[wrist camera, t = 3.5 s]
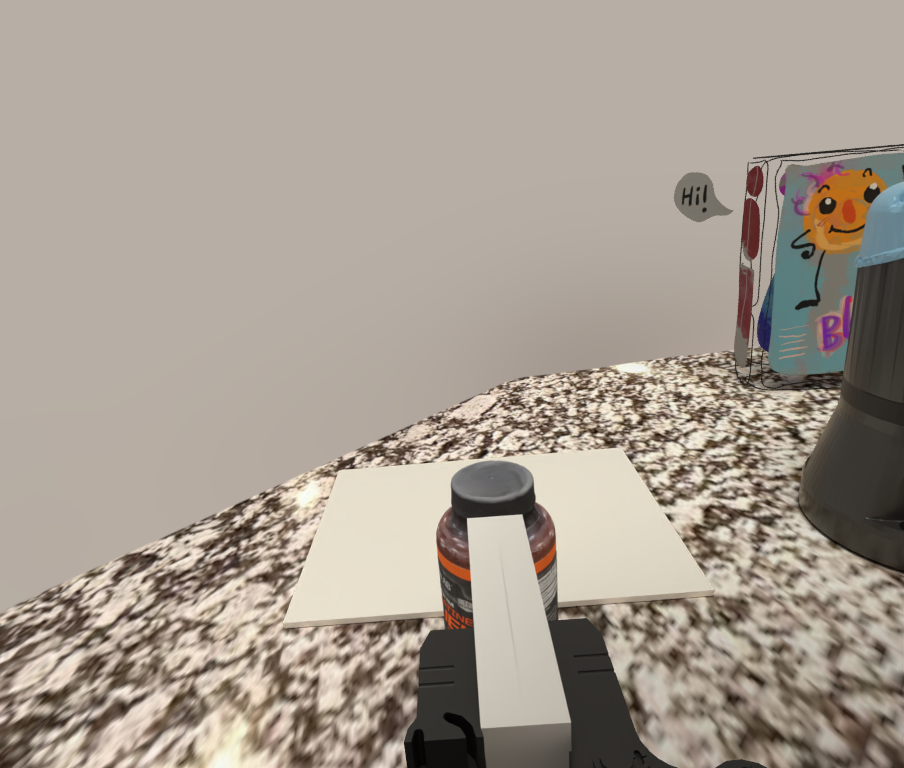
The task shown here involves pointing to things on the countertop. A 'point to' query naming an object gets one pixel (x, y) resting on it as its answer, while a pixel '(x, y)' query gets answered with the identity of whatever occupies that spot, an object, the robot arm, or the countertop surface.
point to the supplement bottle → (492, 495)
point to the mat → (429, 496)
